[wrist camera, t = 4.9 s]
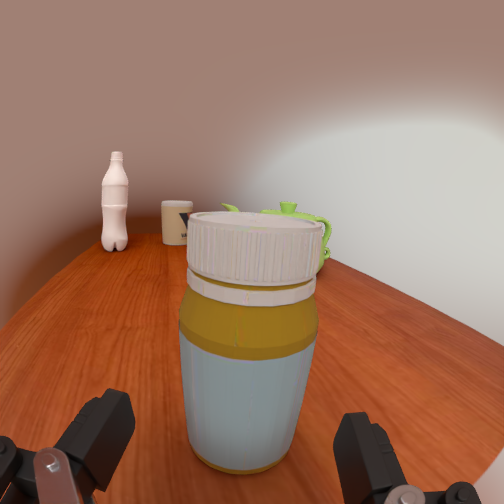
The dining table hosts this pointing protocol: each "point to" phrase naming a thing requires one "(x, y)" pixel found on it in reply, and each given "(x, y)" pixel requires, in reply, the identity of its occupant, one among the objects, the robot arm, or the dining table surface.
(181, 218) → the coffee cup
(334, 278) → the dining table surface
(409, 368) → the dining table surface
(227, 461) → the bottle
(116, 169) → the water bottle
